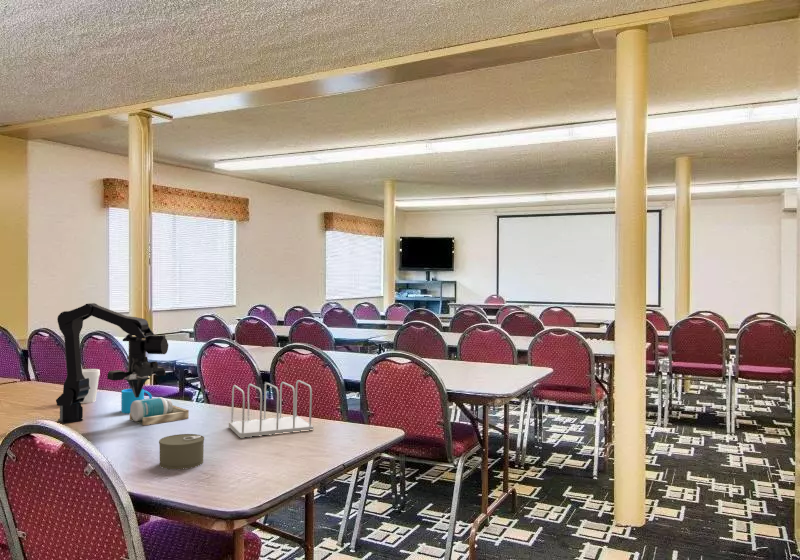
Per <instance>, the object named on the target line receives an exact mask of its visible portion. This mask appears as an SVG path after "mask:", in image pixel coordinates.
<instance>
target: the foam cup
mask: <svg viewBox="0 0 800 560" xmlns="http://www.w3.org/2000/svg"><path fill="white" fill-rule="evenodd" d="M100 372H101V370H100V369H98V368H83V369H82V374H83V376H84V378H85V379H86V378H89V387H90V389H89V392H88V394H87V395H86V396H85V398H84V401H83V402H80V403H81V404H91V403H95V402H96V400H97V393H98V388H99V381H100V376H101V373H100Z"/></svg>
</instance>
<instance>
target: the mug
mask: <svg viewBox="0 0 800 560" xmlns="http://www.w3.org/2000/svg"><path fill="white" fill-rule="evenodd" d="M145 394H147V395H148V399H151V398H153V395H152V393H151V392H149V391H148V390H146V389H144V388H142V390H141V392H140V395H139V397H138V398H136V397H135V396H134V393H133V391H132V389H131V388H125V389H122V390H121V401H120V403H121V405H120V406H121V411H120V413H122V414H130V413H131V412H130V409H131V404H132V402H133V401H136V400H143V399H145Z"/></svg>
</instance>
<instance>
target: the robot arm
mask: <svg viewBox="0 0 800 560" xmlns="http://www.w3.org/2000/svg"><path fill="white" fill-rule="evenodd" d="M90 317H94V318H95V319H96V318H97V319H99V320H102V321H105V322H107V323H110V324H112V325H115V326H117V327H119V328H120V329H121V330H122V331H123V332H125V333H126V334H127V335H126V336H125V337H124V338H123V339H122V342H128V356H127V357H126V359H127V360H128V367H127V368H126V371H123V370H121V369H120V370H119V369H117V370H116V369H115V370H109V371H108V373H107V379H106V380H110V381H113V382H115V381H124V380H125V381H127V383H128V385H129V386H130V389H132V391H133V393H134V396H135V397H136V398H138V397H139V395H140V392H141V390H142V389H143V386H144V385H145V383H146V382H147V381H148V380H150V379H151V377H152V376H153V375H155V376H157V377H161V376H166V371H167V370H166V369H165V367H162V366H159V365H158V363H159V362H157V361H151V362H149V359H148V356H147V355H166V354H167V353H168V350H169V343H168V340H167V338H166V335H165V334H161V335H156V334H155V333H154V332H153V330H152V329H151V328H150V326H149V322H148V321H147V319H146V318H142V317H136V316H128V315H124V314H122V313H119V312H117V311H114V310H112V309H109V308H107V307H105V306H101V305H98V304H97V303H95V302H93V303H92V302H91V303H85V304H84V305H81V306H79V307H76V308H74V309H71V310H64V311H62V312H61V313H59V314H58V315H57V324H58V328H59V331H60V333H61V334H62V335H63V338H64V339H63V340H64V350H65V351H64V352H65V366H66V378H65V381H64V383H63V387H62V388H63V389H62V393H61V394H60V395H59V396H58V397H57V398H56V399H55V401H56V406H58V407H59V418H58V419H57V420H58V421H59V422H60V423H62V424H69V423H73V422H81V421H84V419H83V417H84V416H83V414H84V413H83V411H84V407H83V406H82V403H80V402H83V401H84V398H85V396H86V395H87V394H88V392H89V389H90V387H89V378H86V379H85V378H84V376H83V374H82V368H83V366H82V353H81V341H80V333H81V331H82V329H83V324H84V320H87V319H89V318H90Z"/></svg>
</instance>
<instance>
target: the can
mask: <svg viewBox="0 0 800 560" xmlns="http://www.w3.org/2000/svg"><path fill="white" fill-rule="evenodd" d="M158 444H159V467H160V466H161V467H163V468H162V469H164V468H167V469H166V470H170V469H180V470H186V469H185V468H188V469H192V468H191V467H193V468H196V467H195V466H197V467H198V465H199V466H201V465H203V463H204V444H205V437H204V435H201V434H196V433H194V434H193V433H180V434H172V435H167V436H165V437H162V438H160V439H159V441H158ZM200 464H201V465H200ZM161 467H160V468H161ZM183 468H184V469H183Z"/></svg>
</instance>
